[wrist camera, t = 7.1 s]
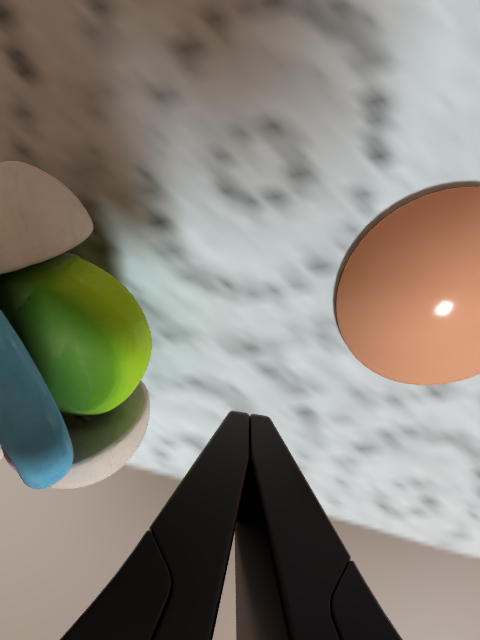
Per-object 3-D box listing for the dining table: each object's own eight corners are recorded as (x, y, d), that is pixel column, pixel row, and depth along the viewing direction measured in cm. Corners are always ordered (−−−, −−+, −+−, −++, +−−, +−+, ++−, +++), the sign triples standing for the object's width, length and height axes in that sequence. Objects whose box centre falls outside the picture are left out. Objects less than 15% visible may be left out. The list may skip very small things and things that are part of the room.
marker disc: (608, 209, 10) (611, 210, 10) (496, 396, 13) (498, 398, 13) (374, 166, 10) (375, 167, 10) (313, 366, 13) (313, 368, 12)
